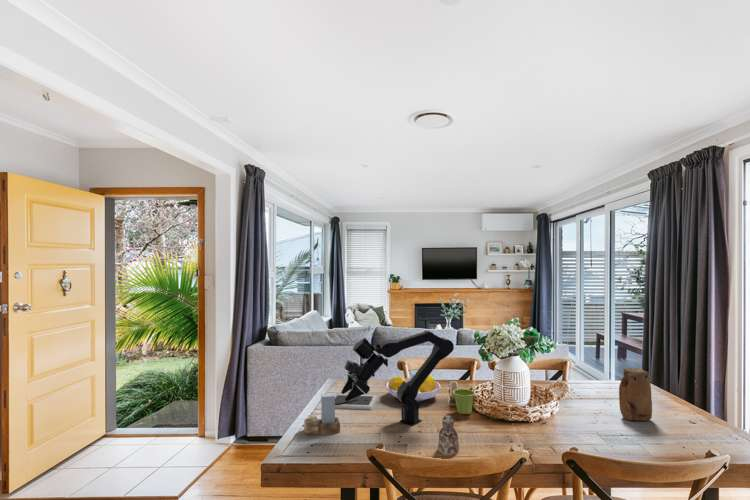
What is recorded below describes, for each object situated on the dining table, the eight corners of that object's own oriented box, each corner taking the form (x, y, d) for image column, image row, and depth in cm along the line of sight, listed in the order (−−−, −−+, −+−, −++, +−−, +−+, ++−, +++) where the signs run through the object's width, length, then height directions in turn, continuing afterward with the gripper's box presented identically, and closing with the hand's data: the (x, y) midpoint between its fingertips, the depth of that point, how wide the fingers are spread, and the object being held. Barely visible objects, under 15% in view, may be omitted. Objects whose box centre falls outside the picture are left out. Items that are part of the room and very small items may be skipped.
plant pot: (466, 417, 172) (466, 397, 172) (449, 412, 179) (448, 392, 179) (479, 412, 178) (479, 392, 179) (462, 407, 185) (461, 387, 186)
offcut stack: (317, 425, 163) (316, 413, 163) (318, 431, 157) (318, 418, 157) (304, 427, 162) (304, 414, 162) (305, 432, 156) (305, 420, 156)
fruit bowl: (394, 387, 217) (394, 365, 217) (445, 391, 208) (445, 369, 208) (376, 404, 190) (376, 379, 191) (434, 410, 181) (434, 384, 182)
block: (641, 414, 173) (639, 366, 174) (655, 421, 165) (653, 371, 166) (617, 416, 172) (615, 367, 173) (630, 422, 164) (628, 372, 165)
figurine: (436, 453, 140) (435, 417, 141) (440, 444, 147) (439, 410, 147) (457, 456, 138) (456, 420, 138) (460, 447, 144) (459, 413, 145)
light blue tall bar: (334, 428, 163) (333, 393, 163) (335, 431, 160) (334, 396, 161) (321, 429, 162) (321, 394, 162) (322, 432, 159) (321, 397, 159)
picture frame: (326, 409, 187) (371, 411, 183) (326, 403, 187) (371, 404, 183) (335, 398, 202) (377, 399, 199) (335, 392, 202) (376, 393, 199)
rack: (337, 426, 165) (337, 417, 165) (340, 432, 159) (339, 423, 159) (304, 429, 162) (304, 420, 162) (305, 435, 156) (305, 426, 156)
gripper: (352, 349, 174) (326, 377, 171) (361, 358, 156) (332, 390, 153) (370, 366, 175) (345, 394, 172) (381, 378, 157) (353, 409, 154)
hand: (343, 396), depth 163 cm, fingers open, 9 cm apart
